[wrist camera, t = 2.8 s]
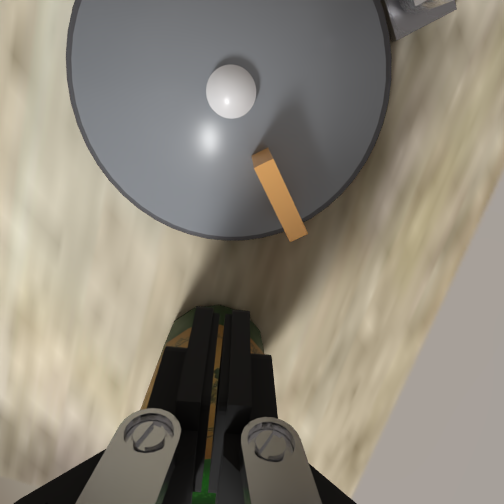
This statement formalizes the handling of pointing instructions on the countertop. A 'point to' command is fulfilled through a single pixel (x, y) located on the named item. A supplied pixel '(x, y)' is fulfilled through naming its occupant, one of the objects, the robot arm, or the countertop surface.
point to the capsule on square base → (413, 14)
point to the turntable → (229, 104)
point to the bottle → (180, 338)
